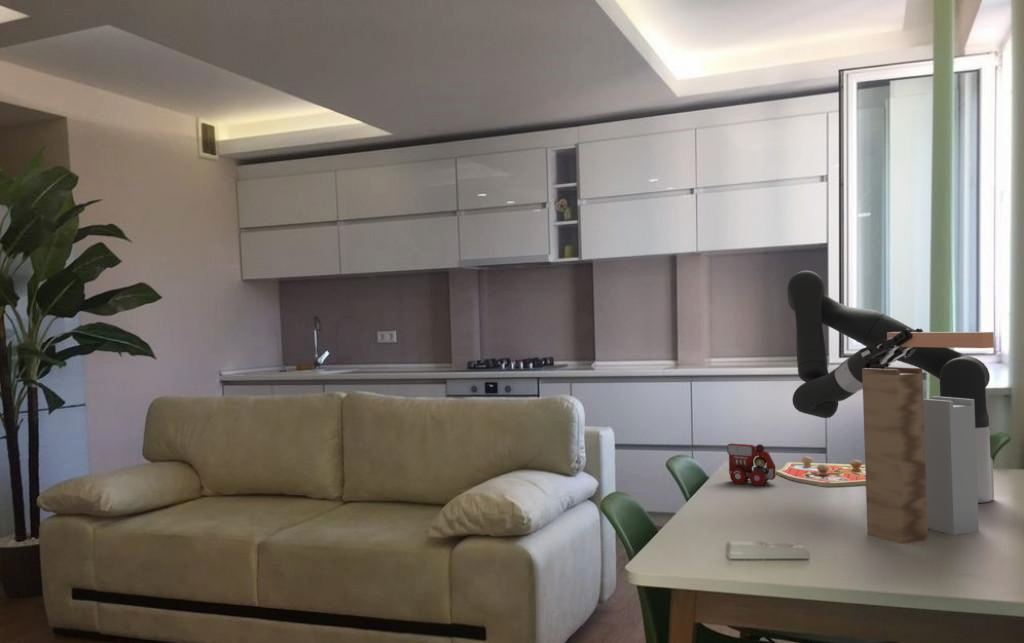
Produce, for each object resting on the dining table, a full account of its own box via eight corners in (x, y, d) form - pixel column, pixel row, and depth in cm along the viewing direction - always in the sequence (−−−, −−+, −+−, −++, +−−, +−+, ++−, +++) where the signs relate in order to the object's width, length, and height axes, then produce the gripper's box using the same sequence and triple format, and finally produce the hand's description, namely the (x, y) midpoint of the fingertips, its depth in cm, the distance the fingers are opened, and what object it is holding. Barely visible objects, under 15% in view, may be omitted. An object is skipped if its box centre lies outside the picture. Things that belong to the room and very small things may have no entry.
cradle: (938, 520, 162) (934, 396, 163) (978, 530, 154) (974, 399, 154) (914, 524, 160) (910, 398, 160) (953, 535, 151) (949, 401, 152)
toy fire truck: (771, 487, 200) (770, 447, 200) (724, 483, 207) (723, 444, 207) (778, 482, 206) (777, 443, 206) (732, 478, 213) (730, 440, 213)
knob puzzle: (888, 471, 219) (888, 455, 219) (893, 492, 192) (892, 474, 192) (780, 466, 231) (780, 451, 231) (770, 486, 204) (769, 469, 204)
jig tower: (893, 529, 157) (887, 366, 157) (927, 538, 149) (922, 368, 150) (867, 533, 154) (862, 368, 154) (901, 543, 147) (895, 370, 147)
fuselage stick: (897, 345, 168) (897, 332, 168) (994, 347, 148) (993, 332, 148) (887, 346, 167) (886, 332, 167) (983, 348, 147) (982, 332, 147)
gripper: (830, 357, 175) (883, 317, 161) (876, 354, 180) (931, 316, 167) (844, 386, 172) (899, 349, 158) (890, 383, 177) (948, 346, 163)
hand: (915, 332), depth 162 cm, fingers closed on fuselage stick, 3 cm apart
